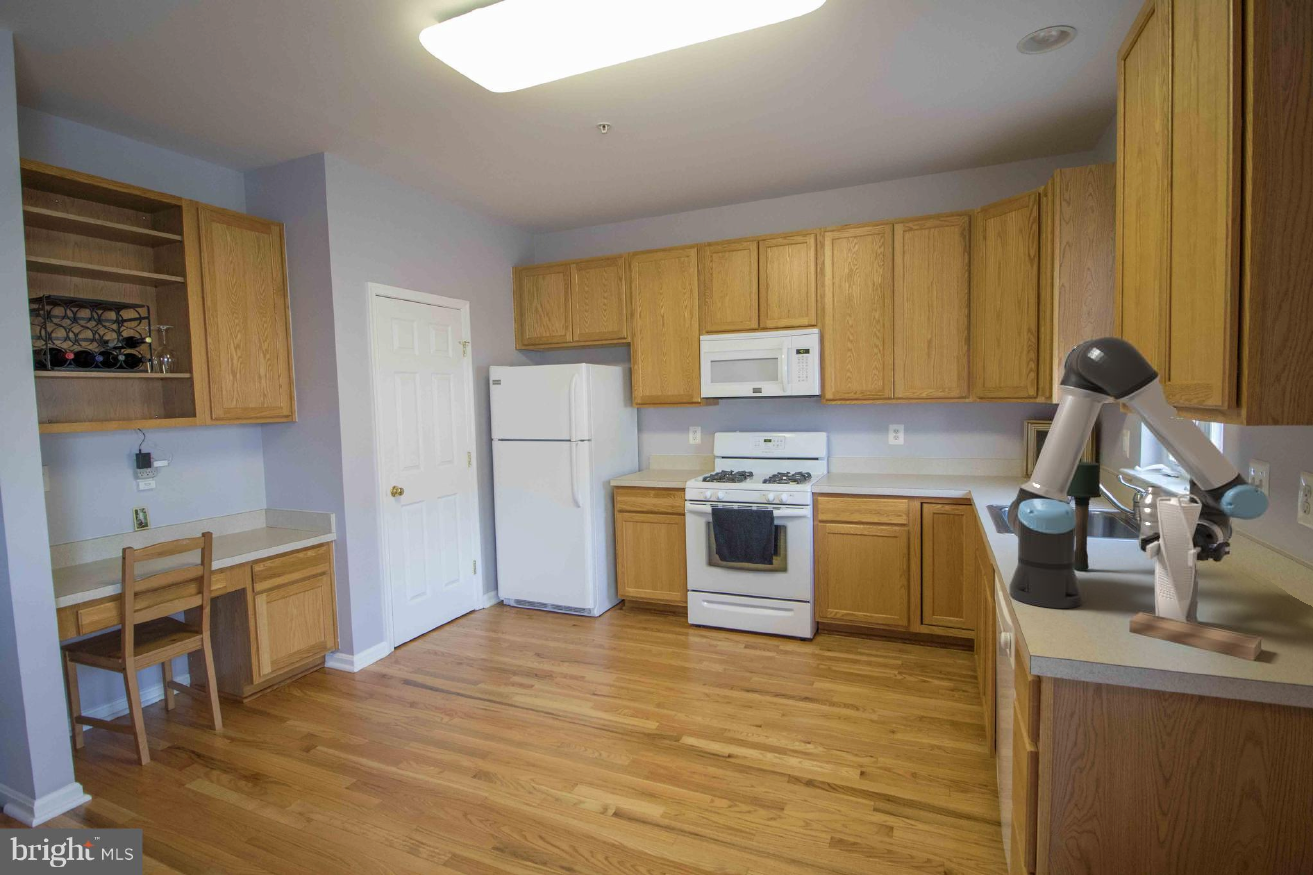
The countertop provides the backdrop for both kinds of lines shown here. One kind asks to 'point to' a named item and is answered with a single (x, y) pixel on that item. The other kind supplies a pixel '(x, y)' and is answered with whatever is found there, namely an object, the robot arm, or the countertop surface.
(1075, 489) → the stick grenade
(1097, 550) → the countertop surface
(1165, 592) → the skyscraper
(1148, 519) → the ribbed metallic bottle
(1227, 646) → the board
